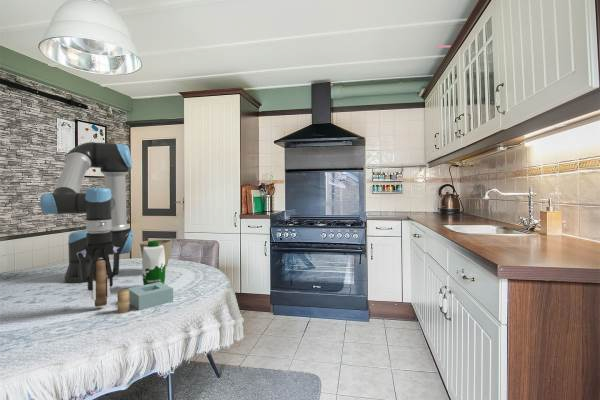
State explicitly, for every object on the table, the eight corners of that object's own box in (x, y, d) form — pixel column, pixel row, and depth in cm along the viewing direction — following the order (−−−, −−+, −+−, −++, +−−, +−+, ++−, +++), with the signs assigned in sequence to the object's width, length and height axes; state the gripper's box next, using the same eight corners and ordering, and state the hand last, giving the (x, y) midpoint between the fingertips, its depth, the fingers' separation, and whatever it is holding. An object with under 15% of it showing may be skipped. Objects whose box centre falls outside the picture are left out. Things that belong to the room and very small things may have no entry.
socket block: (127, 301, 115) (127, 288, 115) (160, 294, 124) (160, 281, 124) (139, 310, 107) (138, 295, 107) (173, 301, 116) (173, 288, 116)
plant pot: (162, 267, 168) (162, 238, 167) (178, 271, 159) (177, 241, 159) (134, 273, 156) (134, 242, 155) (149, 278, 147) (149, 245, 146)
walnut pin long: (93, 304, 109) (92, 259, 108) (105, 301, 111) (104, 258, 111) (96, 307, 106) (95, 261, 105) (108, 304, 109) (107, 259, 108)
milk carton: (164, 284, 137) (164, 239, 137) (166, 290, 129) (165, 242, 129) (142, 287, 133) (141, 241, 133) (142, 293, 125) (141, 244, 125)
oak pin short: (116, 311, 106) (116, 291, 106) (127, 308, 109) (127, 288, 109) (119, 314, 104) (119, 293, 104) (131, 311, 106) (130, 291, 106)
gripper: (72, 235, 99) (74, 306, 100) (128, 230, 111) (129, 294, 112) (67, 233, 104) (69, 300, 105) (122, 228, 116) (123, 289, 117)
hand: (100, 297), depth 109 cm, fingers closed on walnut pin long, 3 cm apart
